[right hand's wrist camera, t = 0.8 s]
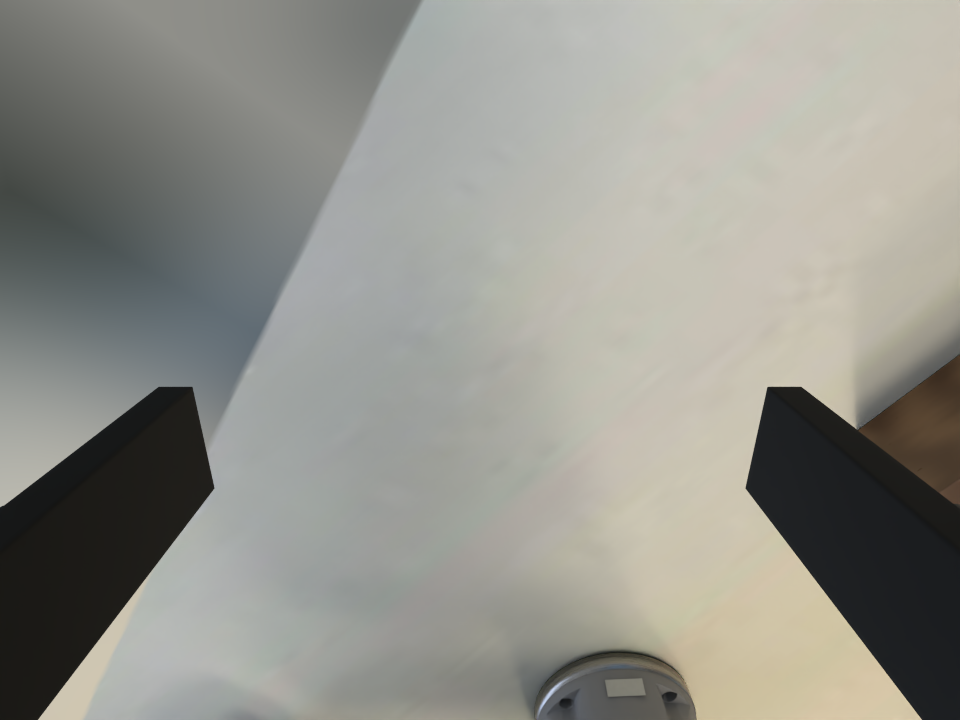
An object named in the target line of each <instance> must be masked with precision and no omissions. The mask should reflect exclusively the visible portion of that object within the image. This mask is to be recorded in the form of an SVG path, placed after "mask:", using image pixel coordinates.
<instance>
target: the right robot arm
mask: <svg viewBox="0 0 960 720" xmlns="http://www.w3.org/2000/svg"><path fill="white" fill-rule="evenodd" d="M213 490H214V484H213V479H212V475H211V470H210V466H209V461H208V456H207V452H206V447H205V443H204V438H203V434H202V429H201V424H200V420H199V415H198V411H197V406H196V401H195V397H194V392H193V388H192V387H158V388H157V389H155V390H154V391H153V392H152V393H150V394H149V395H148V396H146V397H145V398H144V399H142V400H141V401H140V402H139V403H137V404H136V405H135V406H133V407H132V408H131V409H129V410H128V411H127V412H126V413H124V414H123V415H122V416H120V417H119V418H118V419H116V420H115V421H114V422H112V423H111V424H110V425H109V426H107V427H106V428H105V429H103V430H102V431H101V432H99V433H98V434H97V435H96V436H94V437H93V438H92V439H90V440H89V441H88V442H87V443H85V444H84V445H83V446H81V447H80V448H79V449H77V450H76V451H75V452H74V453H72V454H71V455H70V456H68V457H67V458H66V459H64V460H63V461H62V462H60V463H59V464H58V465H56V466H55V467H54V468H53V469H51V470H50V471H49V472H47V473H46V474H45V475H44V476H42V477H41V478H40V479H38V480H37V481H36V482H34V483H33V484H32V485H30V486H29V487H28V488H27V489H25V490H24V491H23V492H21V493H20V494H19V495H17V496H16V497H15V498H14V499H12V500H11V501H10V502H8V503H7V504H6V505H4V506H2V507H0V720H38V719H39V718H40V716H41V715H42V714H43V712H44V711H45V710H46V708H47V707H48V706H49V704H50V703H51V702H52V701H53V699H54V698H55V697H56V695H57V694H58V693H59V691H60V690H61V689H62V687H63V686H64V685H65V683H66V682H67V681H68V680H69V678H70V677H71V676H72V674H73V673H74V672H75V670H76V669H77V668H78V666H79V665H80V664H81V662H82V661H83V660H84V659H85V657H86V656H87V655H88V653H89V652H90V651H91V649H92V648H93V647H94V645H95V644H96V643H97V642H98V640H99V639H100V638H101V636H102V635H103V634H104V632H105V631H106V630H107V628H108V627H109V626H110V625H111V623H112V622H113V621H114V619H115V618H116V617H117V615H118V614H119V613H120V611H121V610H122V609H123V607H124V606H125V605H126V603H127V602H128V601H129V600H130V598H131V597H132V596H133V594H134V593H135V592H136V590H137V589H138V588H139V586H140V585H141V584H142V583H143V581H144V580H145V579H146V577H147V576H148V575H149V573H150V572H151V571H152V569H153V568H154V567H155V566H156V564H157V563H158V562H159V560H160V559H161V558H162V556H163V555H164V554H165V552H166V551H167V550H168V549H169V547H170V546H171V545H172V543H173V542H174V541H175V539H176V538H177V537H178V535H179V534H180V533H181V531H182V530H183V529H184V528H185V526H186V525H187V524H188V522H189V521H190V520H191V518H192V517H193V516H194V514H195V513H196V512H197V511H198V509H199V508H200V507H201V505H202V504H203V503H204V501H205V500H206V499H207V497H208V496H209V495H210V493H211V492H212V491H213ZM746 490H747V491H748V492H749V493H750V495H751V496H752V497H753V499H754V500H755V501H756V503H757V504H758V505H759V507H760V508H761V509H762V511H763V512H764V513H765V514H766V516H767V517H768V518H769V520H770V521H771V522H772V524H773V525H774V526H775V528H776V529H777V530H778V531H779V533H780V534H781V535H782V537H783V538H784V539H785V541H786V542H787V543H788V545H789V546H790V547H791V549H792V550H793V551H794V552H795V554H796V555H797V556H798V558H799V559H800V560H801V562H802V563H803V564H804V566H805V567H806V568H807V569H808V571H809V572H810V573H811V575H812V576H813V577H814V579H815V580H816V581H817V583H818V584H819V585H820V587H821V588H822V589H823V590H824V592H825V593H826V594H827V596H828V597H829V598H830V600H831V601H832V602H833V604H834V605H835V606H836V607H837V609H838V610H839V611H840V613H841V614H842V615H843V617H844V618H845V619H846V621H847V622H848V623H849V625H850V626H851V627H852V628H853V630H854V631H855V632H856V634H857V635H858V636H859V638H860V639H861V640H862V642H863V643H864V644H865V645H866V647H867V648H868V649H869V651H870V652H871V653H872V655H873V656H874V657H875V659H876V660H877V661H878V663H879V664H880V665H881V666H882V668H883V669H884V670H885V672H886V673H887V674H888V676H889V677H890V678H891V680H892V681H893V682H894V683H895V685H896V686H897V687H898V689H899V690H900V691H901V693H902V694H903V695H904V697H905V698H906V699H907V701H908V702H909V703H910V704H911V706H912V707H913V708H914V710H915V711H916V712H917V714H918V715H919V716H920V718H921V719H922V720H960V505H959V504H953V503H952V502H950V501H949V500H948V499H947V498H945V497H944V496H943V495H941V494H940V493H939V492H937V491H936V490H935V489H933V488H932V487H931V486H930V485H928V484H927V483H926V482H924V481H923V480H922V479H920V478H919V477H918V476H917V475H915V474H914V473H913V472H911V471H910V470H909V469H907V468H906V467H905V466H904V465H902V464H901V463H900V462H898V461H897V460H896V459H894V458H893V457H892V456H891V455H889V454H888V453H887V452H885V451H884V450H883V449H881V448H880V447H879V446H877V445H876V444H875V443H874V442H872V441H871V440H870V439H868V438H867V437H866V436H864V435H863V434H862V433H861V432H859V431H858V430H857V429H855V428H854V427H853V426H851V425H850V424H849V423H848V422H846V421H845V420H844V419H842V418H841V417H840V416H838V415H837V414H836V413H834V412H833V411H832V410H831V409H829V408H828V407H827V406H825V405H824V404H823V403H821V402H820V401H819V400H818V399H816V398H815V397H814V396H812V395H811V394H810V393H808V392H807V391H806V390H805V389H803V388H802V387H768V388H767V392H766V397H765V401H764V406H763V410H762V415H761V420H760V424H759V429H758V433H757V438H756V443H755V447H754V452H753V456H752V461H751V466H750V470H749V475H748V479H747V484H746ZM535 720H696V711H695V707H694V704H693V701H692V698H691V696H690V693H689V690H688V688H687V686H686V683H685V682H684V680H683V679H682V677H681V676H680V675H679V674H678V673H677V672H676V671H675V670H674V669H672V668H671V667H670V666H668V665H666V664H665V663H663V662H661V661H659V660H656V659H653V658H651V657H647V656H644V655H638V654H631V653H607V654H600V655H595V656H591V657H587V658H584V659H581V660H578V661H576V662H573V663H571V664H569V665H568V666H566V667H564V668H562V669H561V670H559V671H558V672H557V673H555V674H554V675H553V676H552V677H551V678H550V679H549V680H548V681H547V682H546V683H545V684H544V686H543V687H542V689H541V690H540V692H539V694H538V696H537V699H536V703H535Z"/></svg>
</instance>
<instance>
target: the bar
mask: <svg viewBox="0 0 960 720" xmlns="http://www.w3.org/2000/svg"><path fill="white" fill-rule="evenodd" d="M858 431H859V432H861V433H862V434H863V435H864V436H866V437H867V438H868V439H870V440H871V441H872V442H874V443H875V444H876V445H877V446H879V447H880V448H881V449H883V450H884V451H885V452H887V453H888V454H889V455H891V456H892V457H893V458H894V459H896V460H897V461H898V462H900V463H901V464H902V465H904V466H905V467H906V468H907V469H909V470H910V471H911V472H913V473H914V474H915V475H917V476H918V477H919V478H920V479H922V480H923V481H924V482H926V483H927V484H928V485H930V486H931V487H932V488H933V489H935V490H936V491H937V492H939V493H940V494H941V495H943V496H944V497H945V498H947V499H948V500H949V501H950V502H952V503H953V504H959V505H960V355H959V356H957V357H956V358H954V359H953V360H952V361H950V362H949V363H948V364H946V365H945V366H944V367H942V368H941V369H940V370H938V371H937V372H936V373H934V374H933V375H932V376H930V377H929V378H928V379H926V380H925V381H924V382H922V383H921V384H920V385H918V386H917V387H915V388H914V389H913V390H911V391H910V392H909V393H907V394H906V395H905V396H903V397H902V398H901V399H899V400H898V401H897V402H895V403H894V404H893V405H891V406H890V407H889V408H887V409H886V410H885V411H883V412H882V413H881V414H879V415H878V416H876V417H875V418H874V419H872V420H871V421H870V422H868V423H867V424H866V425H864V426H863V427H862V428H860V429H859V430H858Z"/></svg>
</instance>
